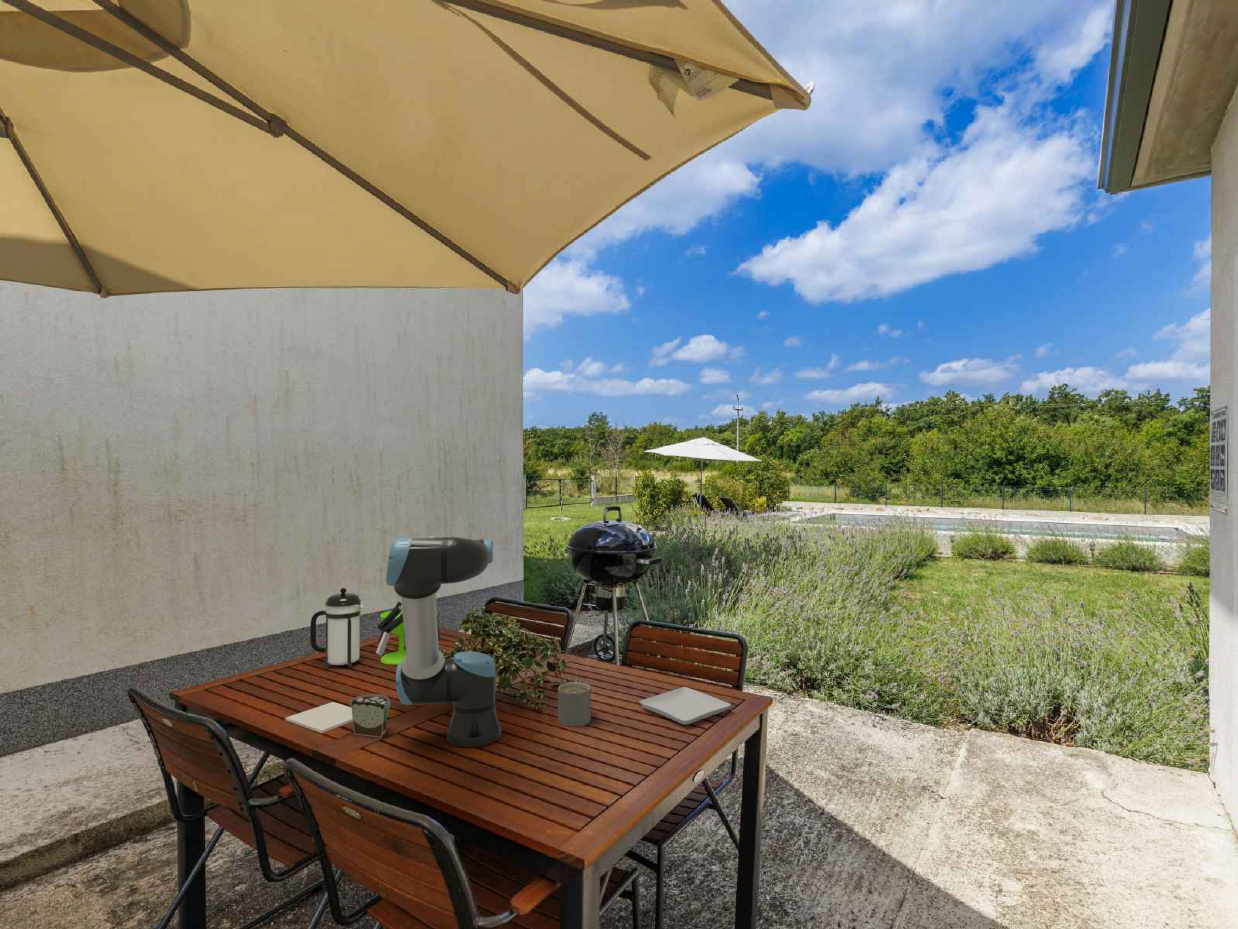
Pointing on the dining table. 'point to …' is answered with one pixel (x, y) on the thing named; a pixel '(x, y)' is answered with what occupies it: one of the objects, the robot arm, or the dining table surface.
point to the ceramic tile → (323, 717)
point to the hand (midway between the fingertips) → (398, 658)
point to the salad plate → (685, 705)
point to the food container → (370, 715)
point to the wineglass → (398, 656)
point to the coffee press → (340, 629)
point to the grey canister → (574, 704)
